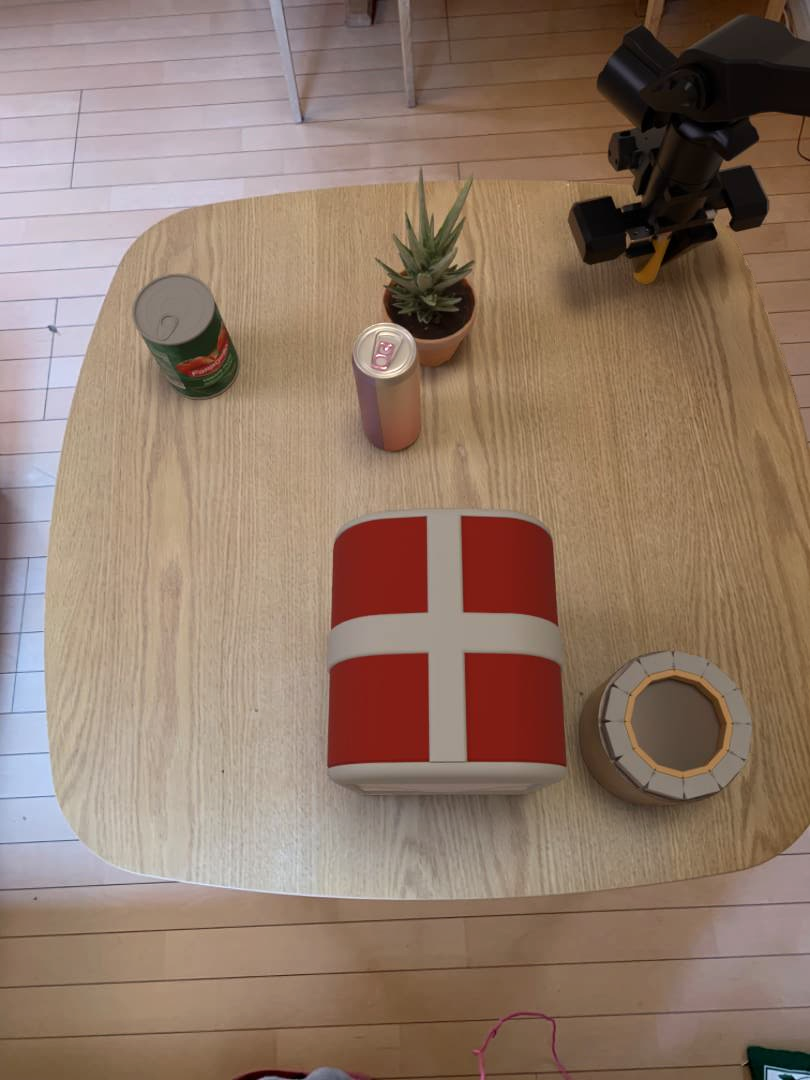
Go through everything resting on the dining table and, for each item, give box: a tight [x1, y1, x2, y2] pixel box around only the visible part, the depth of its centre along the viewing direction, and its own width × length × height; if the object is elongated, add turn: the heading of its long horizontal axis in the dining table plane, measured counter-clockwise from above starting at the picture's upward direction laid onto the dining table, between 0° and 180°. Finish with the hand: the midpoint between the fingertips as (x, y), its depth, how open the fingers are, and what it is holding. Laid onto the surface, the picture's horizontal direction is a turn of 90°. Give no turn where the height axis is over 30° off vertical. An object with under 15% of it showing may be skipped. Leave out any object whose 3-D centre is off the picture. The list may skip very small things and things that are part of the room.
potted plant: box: [373, 164, 478, 367], centre depth 79 cm, size 10×10×25 cm
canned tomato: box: [131, 272, 240, 400], centre depth 86 cm, size 8×8×11 cm
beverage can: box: [351, 322, 422, 451], centre depth 81 cm, size 6×6×15 cm
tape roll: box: [601, 650, 754, 800], centre depth 67 cm, size 11×11×2 cm
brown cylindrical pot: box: [578, 650, 750, 807], centre depth 72 cm, size 12×12×10 cm
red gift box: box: [326, 507, 568, 796], centre depth 66 cm, size 16×18×27 cm
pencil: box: [633, 231, 673, 285], centre depth 89 cm, size 2×2×8 cm
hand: (647, 266), depth 92 cm, fingers closed on pencil, 2 cm apart
